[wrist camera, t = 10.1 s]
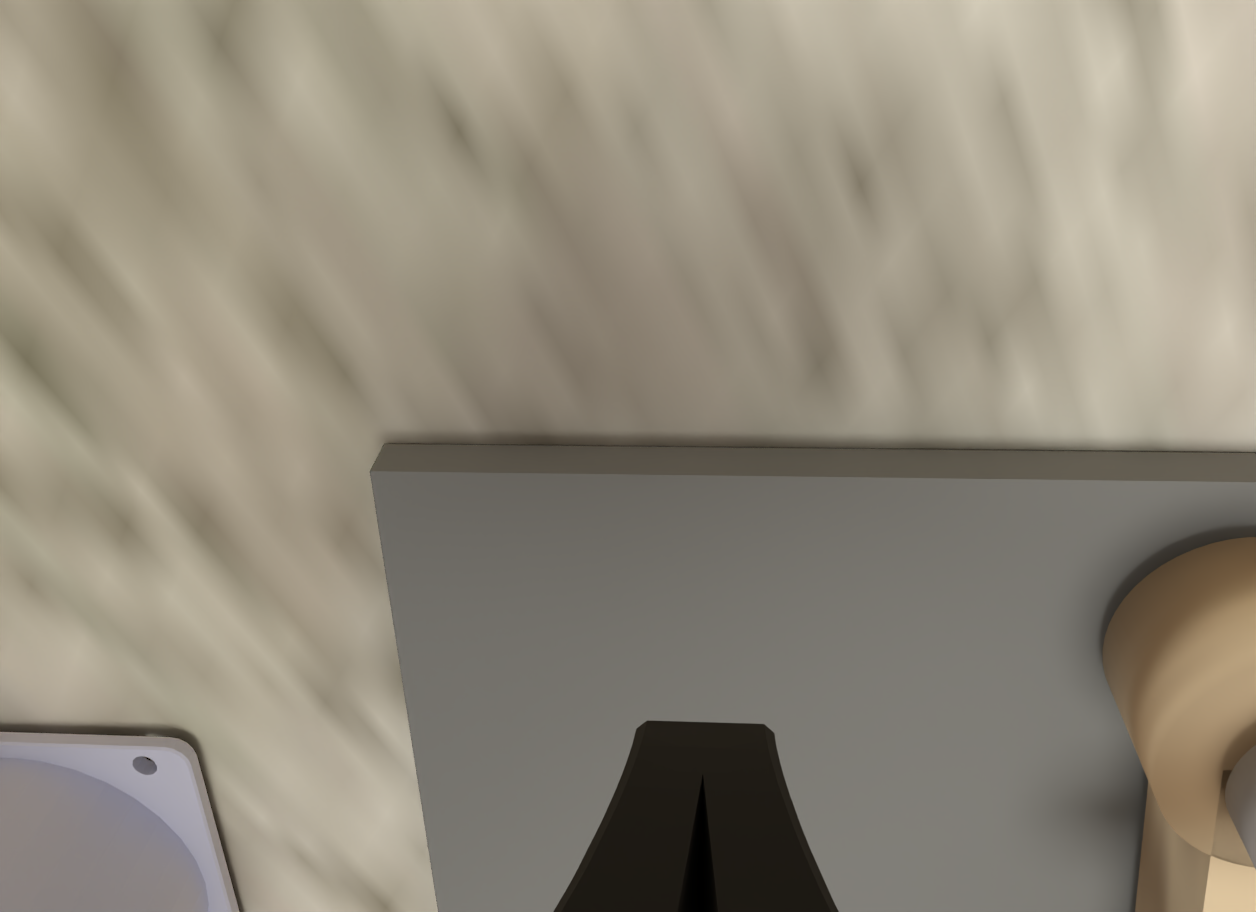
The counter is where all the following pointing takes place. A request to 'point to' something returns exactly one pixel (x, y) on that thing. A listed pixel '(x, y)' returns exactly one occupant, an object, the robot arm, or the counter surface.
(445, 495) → the base plate
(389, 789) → the counter surface
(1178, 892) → the link
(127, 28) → the counter surface
